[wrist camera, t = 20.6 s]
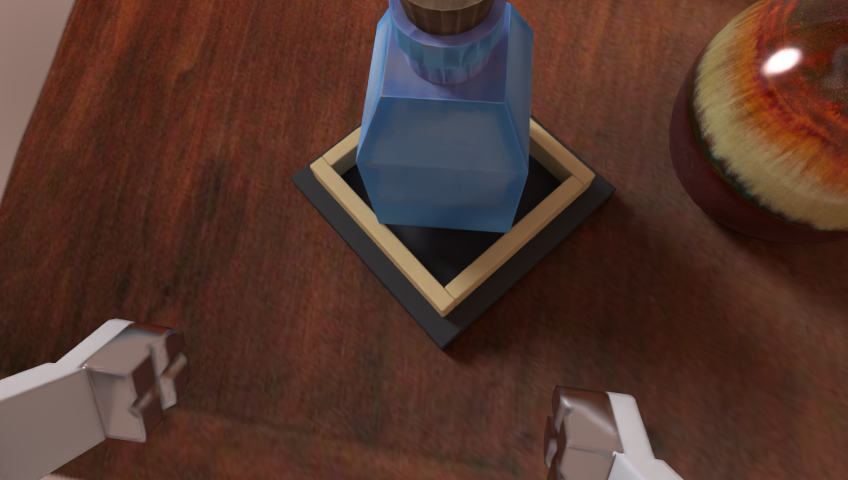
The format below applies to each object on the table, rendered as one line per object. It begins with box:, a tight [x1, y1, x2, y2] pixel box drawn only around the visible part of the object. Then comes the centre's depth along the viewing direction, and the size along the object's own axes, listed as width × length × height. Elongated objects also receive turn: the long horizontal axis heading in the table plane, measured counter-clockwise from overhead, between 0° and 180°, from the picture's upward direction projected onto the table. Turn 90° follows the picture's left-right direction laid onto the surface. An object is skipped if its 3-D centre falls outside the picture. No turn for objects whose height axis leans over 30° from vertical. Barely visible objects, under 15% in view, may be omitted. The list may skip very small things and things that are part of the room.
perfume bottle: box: [356, 0, 533, 233], centre depth 19 cm, size 6×6×12 cm
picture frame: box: [291, 114, 616, 350], centre depth 26 cm, size 12×12×2 cm
